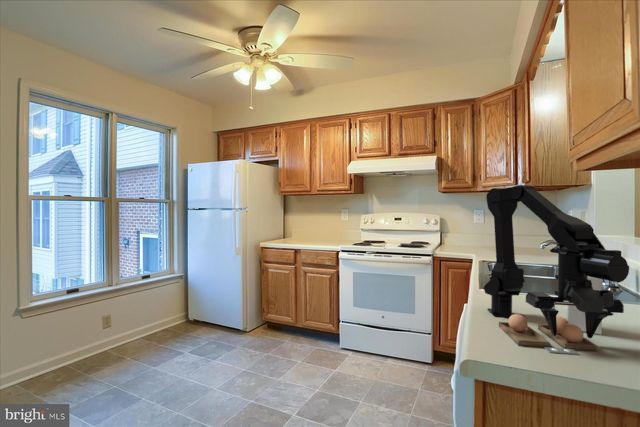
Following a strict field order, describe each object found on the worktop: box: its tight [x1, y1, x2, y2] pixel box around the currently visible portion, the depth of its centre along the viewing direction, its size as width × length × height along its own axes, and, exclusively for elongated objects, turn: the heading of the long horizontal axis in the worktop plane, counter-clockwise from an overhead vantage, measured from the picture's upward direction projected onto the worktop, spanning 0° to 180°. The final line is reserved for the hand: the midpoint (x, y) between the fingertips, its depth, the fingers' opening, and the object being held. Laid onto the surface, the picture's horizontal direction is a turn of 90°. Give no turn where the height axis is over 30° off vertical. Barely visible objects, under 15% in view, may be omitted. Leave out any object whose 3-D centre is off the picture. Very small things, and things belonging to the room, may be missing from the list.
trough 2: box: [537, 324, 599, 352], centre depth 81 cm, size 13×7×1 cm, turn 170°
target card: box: [543, 346, 580, 356], centre depth 74 cm, size 2×6×1 cm, turn 80°
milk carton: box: [566, 276, 603, 335], centre depth 89 cm, size 7×7×19 cm
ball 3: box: [561, 324, 584, 343], centre depth 79 cm, size 4×4×4 cm
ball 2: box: [556, 316, 569, 334], centre depth 84 cm, size 4×4×4 cm
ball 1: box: [507, 313, 528, 331], centre depth 86 cm, size 4×4×4 cm
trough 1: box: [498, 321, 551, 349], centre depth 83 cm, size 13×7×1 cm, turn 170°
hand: (571, 336), depth 79 cm, fingers open, 7 cm apart
